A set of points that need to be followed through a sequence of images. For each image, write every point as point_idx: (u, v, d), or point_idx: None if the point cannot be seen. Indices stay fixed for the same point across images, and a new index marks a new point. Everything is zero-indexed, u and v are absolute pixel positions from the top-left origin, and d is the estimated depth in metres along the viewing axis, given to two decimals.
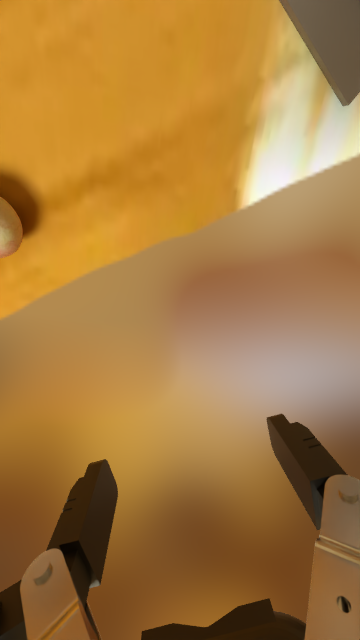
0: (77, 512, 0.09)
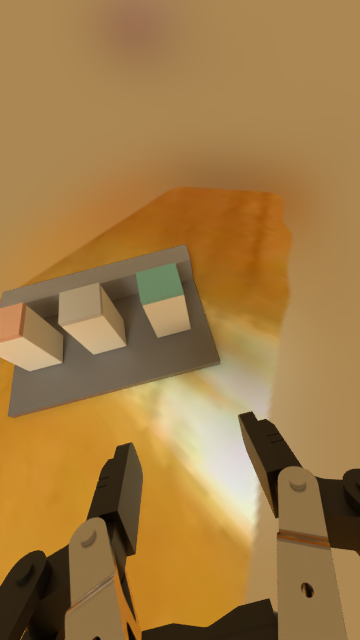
0: (112, 487, 0.10)
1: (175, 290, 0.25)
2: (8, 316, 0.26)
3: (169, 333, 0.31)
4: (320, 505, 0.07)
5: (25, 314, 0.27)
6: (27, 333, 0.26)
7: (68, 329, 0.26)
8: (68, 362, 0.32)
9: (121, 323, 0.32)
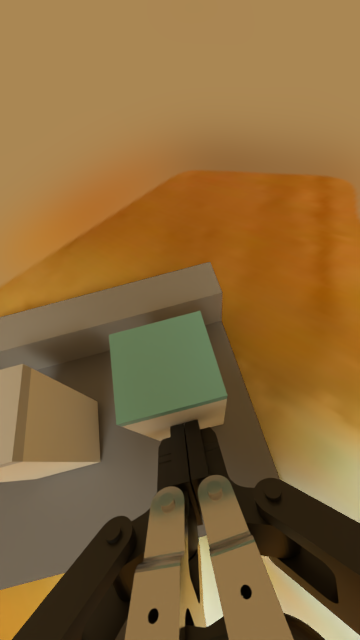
0: (178, 462, 0.10)
1: (206, 391, 0.10)
2: None
3: None
4: (227, 513, 0.08)
5: None
6: None
7: None
8: None
9: (90, 416, 0.17)
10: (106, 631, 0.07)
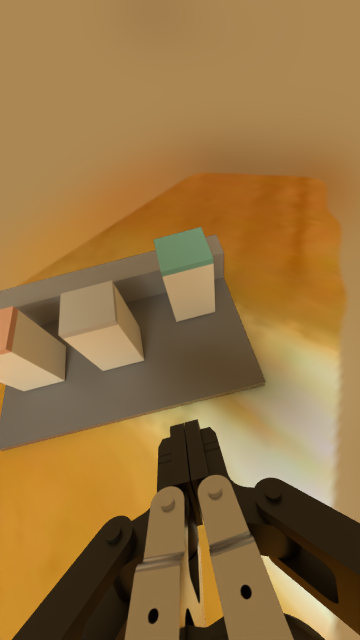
0: (178, 462, 0.10)
1: (203, 257, 0.20)
2: None
3: (190, 316, 0.27)
4: (227, 513, 0.08)
5: (16, 321, 0.21)
6: (18, 346, 0.20)
7: (71, 342, 0.20)
8: (71, 381, 0.26)
9: (137, 332, 0.26)
10: (106, 631, 0.07)
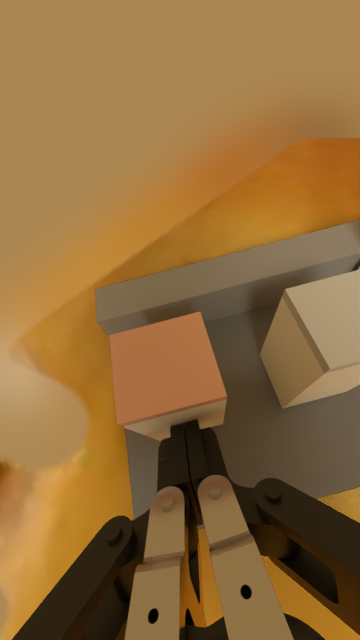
0: (178, 462, 0.10)
1: None
2: (177, 345, 0.11)
3: None
4: (227, 513, 0.08)
5: None
6: None
7: (324, 377, 0.11)
8: (232, 424, 0.17)
9: None
10: (106, 630, 0.07)
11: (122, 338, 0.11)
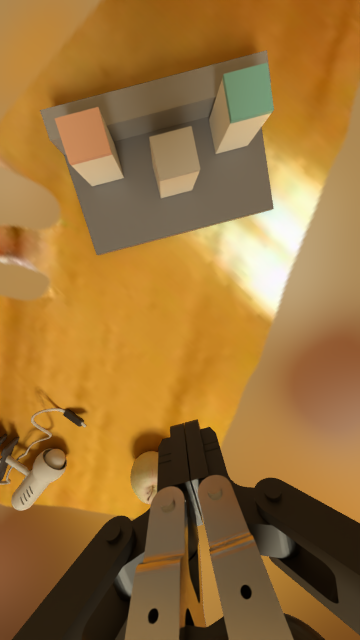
0: (178, 462, 0.10)
1: (266, 107, 0.25)
2: (89, 126, 0.24)
3: (227, 149, 0.33)
4: (227, 513, 0.08)
5: (103, 124, 0.25)
6: (111, 149, 0.26)
7: (162, 182, 0.27)
8: (136, 206, 0.34)
9: None
10: (106, 630, 0.07)
11: (61, 120, 0.24)
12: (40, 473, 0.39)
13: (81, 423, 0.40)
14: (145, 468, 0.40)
